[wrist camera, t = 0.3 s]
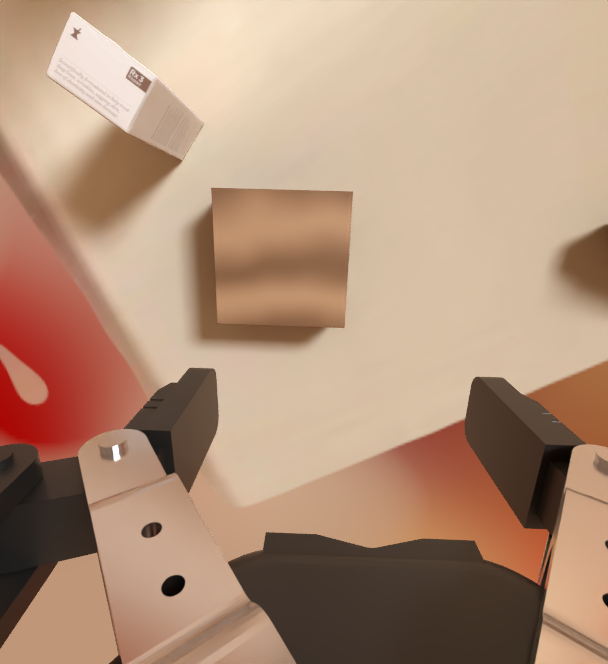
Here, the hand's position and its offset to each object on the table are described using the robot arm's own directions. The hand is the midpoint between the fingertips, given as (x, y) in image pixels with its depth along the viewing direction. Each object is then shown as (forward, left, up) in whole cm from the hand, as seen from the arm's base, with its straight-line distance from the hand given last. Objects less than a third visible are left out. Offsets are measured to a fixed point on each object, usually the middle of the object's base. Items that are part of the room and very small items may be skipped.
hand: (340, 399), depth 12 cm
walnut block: (-1, -4, -28) cm, 28 cm away
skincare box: (-13, -15, -28) cm, 35 cm away
